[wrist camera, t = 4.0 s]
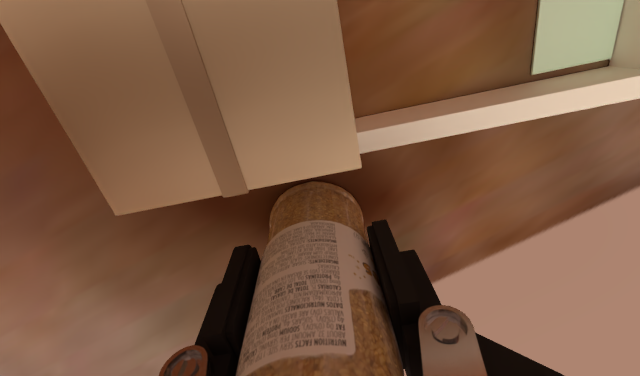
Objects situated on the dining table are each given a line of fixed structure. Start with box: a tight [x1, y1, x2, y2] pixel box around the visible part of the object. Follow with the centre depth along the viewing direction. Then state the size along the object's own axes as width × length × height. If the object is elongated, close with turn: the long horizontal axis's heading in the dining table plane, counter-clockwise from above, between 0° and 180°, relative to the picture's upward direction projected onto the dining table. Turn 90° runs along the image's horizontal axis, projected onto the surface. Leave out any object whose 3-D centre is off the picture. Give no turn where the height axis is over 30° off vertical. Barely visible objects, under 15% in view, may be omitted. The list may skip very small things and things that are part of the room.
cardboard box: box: [0, 0, 362, 216], centre depth 8 cm, size 6×6×6 cm
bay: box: [355, 0, 640, 154], centre depth 10 cm, size 9×21×3 cm, turn 101°
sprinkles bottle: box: [236, 181, 404, 376], centre depth 9 cm, size 5×5×13 cm
